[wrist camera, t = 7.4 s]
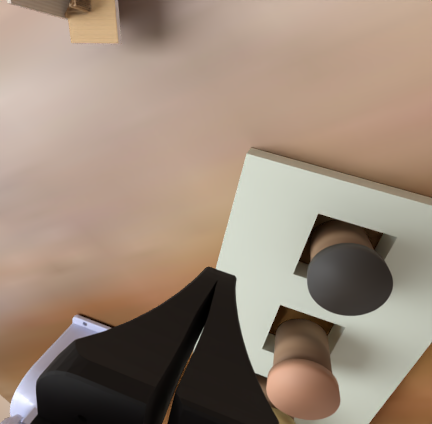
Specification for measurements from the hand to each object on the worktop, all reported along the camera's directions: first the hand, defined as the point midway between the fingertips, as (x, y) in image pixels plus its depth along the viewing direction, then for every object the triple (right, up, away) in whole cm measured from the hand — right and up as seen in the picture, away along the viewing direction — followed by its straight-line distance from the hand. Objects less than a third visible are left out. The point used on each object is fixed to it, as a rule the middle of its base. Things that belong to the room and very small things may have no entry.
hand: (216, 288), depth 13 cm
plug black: (+9, +1, +9) cm, 12 cm away
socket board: (+7, -6, +12) cm, 15 cm away
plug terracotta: (+7, -7, +10) cm, 14 cm away
